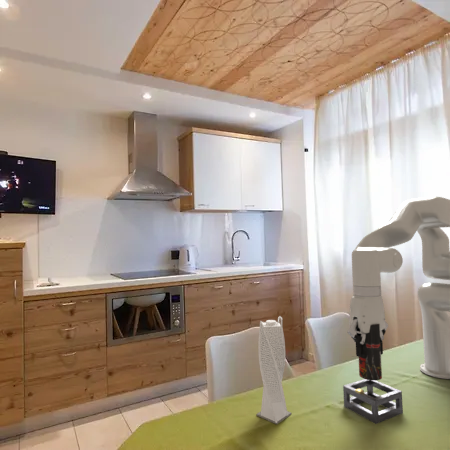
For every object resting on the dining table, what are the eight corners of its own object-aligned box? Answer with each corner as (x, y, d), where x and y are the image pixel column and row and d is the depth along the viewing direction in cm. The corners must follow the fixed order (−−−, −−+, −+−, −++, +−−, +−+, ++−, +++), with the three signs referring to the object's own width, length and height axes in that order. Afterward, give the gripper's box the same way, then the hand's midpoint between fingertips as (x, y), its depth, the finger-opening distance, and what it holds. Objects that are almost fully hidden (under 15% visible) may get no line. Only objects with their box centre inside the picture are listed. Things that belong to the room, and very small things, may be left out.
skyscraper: (295, 416, 94) (291, 314, 96) (278, 428, 89) (274, 320, 90) (271, 406, 100) (268, 310, 102) (253, 417, 95) (250, 315, 96)
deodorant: (384, 381, 93) (381, 325, 94) (361, 379, 94) (359, 325, 95) (379, 372, 99) (376, 320, 100) (357, 371, 100) (355, 320, 101)
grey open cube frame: (370, 397, 104) (369, 375, 104) (402, 413, 94) (401, 389, 94) (343, 406, 99) (342, 383, 99) (375, 424, 89) (374, 398, 89)
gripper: (376, 287, 105) (379, 346, 104) (335, 292, 97) (337, 356, 96) (398, 290, 98) (401, 353, 98) (355, 296, 91) (358, 364, 90)
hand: (369, 354), depth 97 cm, fingers closed on deodorant, 5 cm apart
